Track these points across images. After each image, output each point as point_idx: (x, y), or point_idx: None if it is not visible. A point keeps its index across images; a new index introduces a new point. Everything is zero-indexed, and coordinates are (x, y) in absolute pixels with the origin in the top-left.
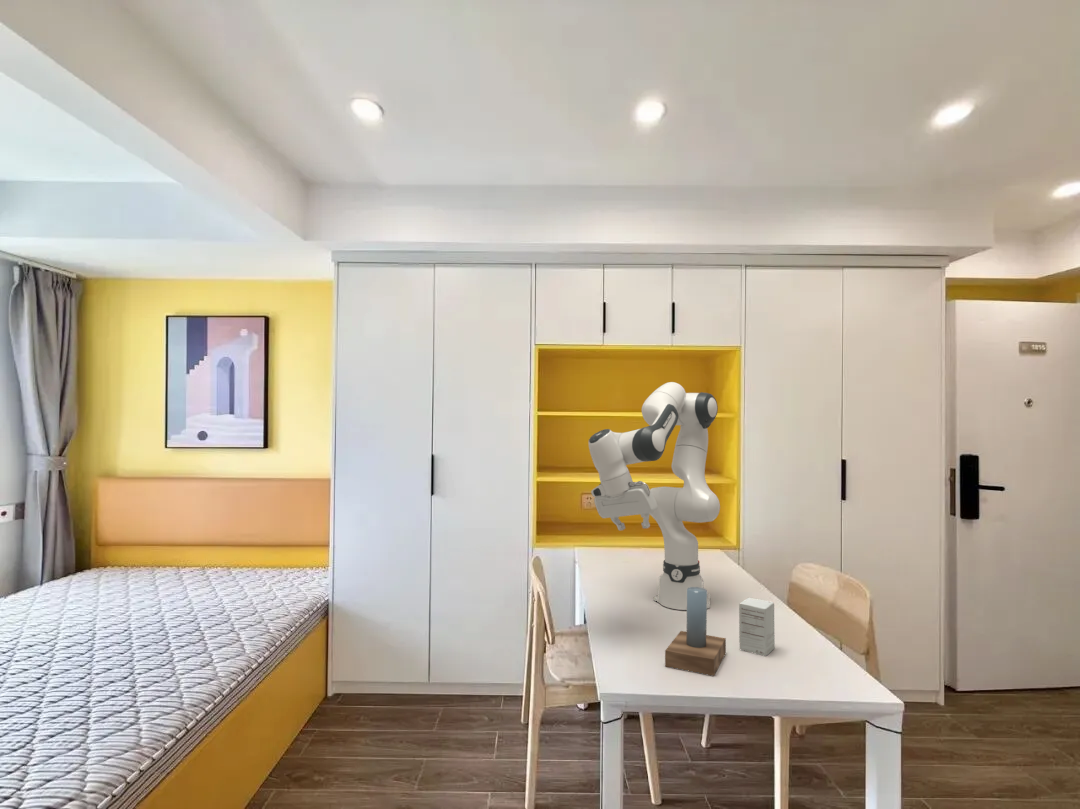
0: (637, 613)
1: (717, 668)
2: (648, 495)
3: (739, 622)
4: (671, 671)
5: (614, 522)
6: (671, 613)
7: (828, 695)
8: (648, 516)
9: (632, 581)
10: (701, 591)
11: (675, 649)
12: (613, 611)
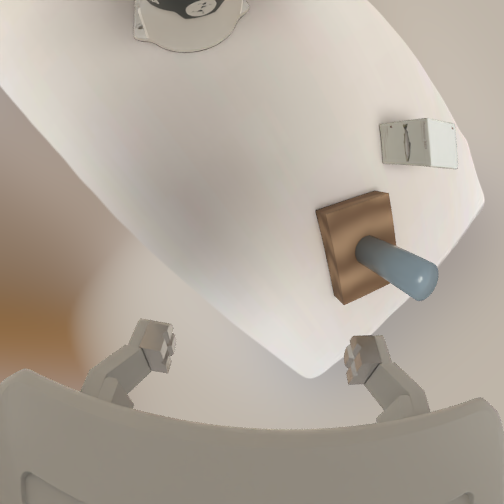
0: (154, 121)
1: None
2: (487, 484)
3: (409, 164)
4: None
5: (126, 385)
6: (207, 71)
7: (461, 225)
8: (411, 387)
9: (53, 7)
10: (432, 284)
11: (353, 290)
12: (111, 151)
